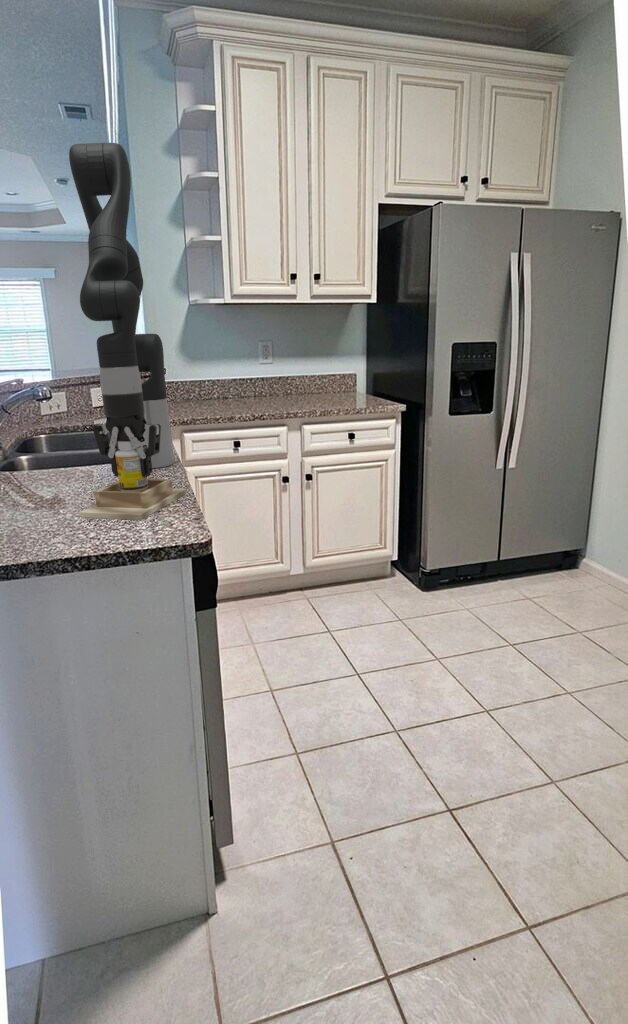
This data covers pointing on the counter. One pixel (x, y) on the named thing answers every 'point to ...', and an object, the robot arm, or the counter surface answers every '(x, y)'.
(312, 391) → the counter surface
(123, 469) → the supplement bottle
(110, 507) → the cup caddy
